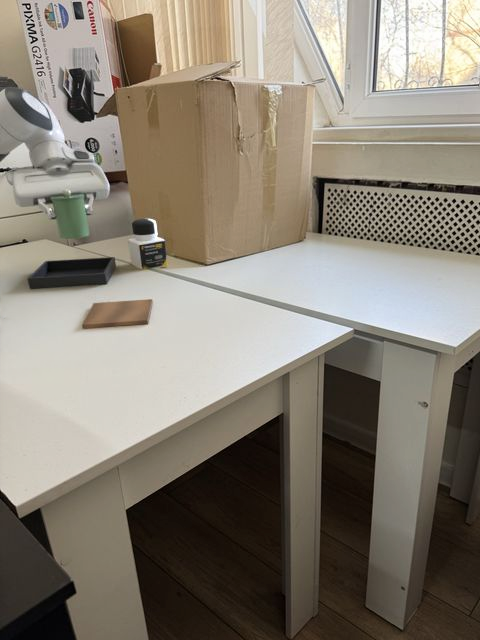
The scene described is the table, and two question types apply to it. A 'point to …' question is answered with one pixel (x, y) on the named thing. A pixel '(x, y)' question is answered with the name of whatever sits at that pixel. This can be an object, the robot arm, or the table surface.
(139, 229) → the medicine bottle
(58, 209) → the green pot
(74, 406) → the table surface
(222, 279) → the table surface
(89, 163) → the robot arm
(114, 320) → the wooden coaster
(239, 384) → the table surface
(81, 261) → the tray
